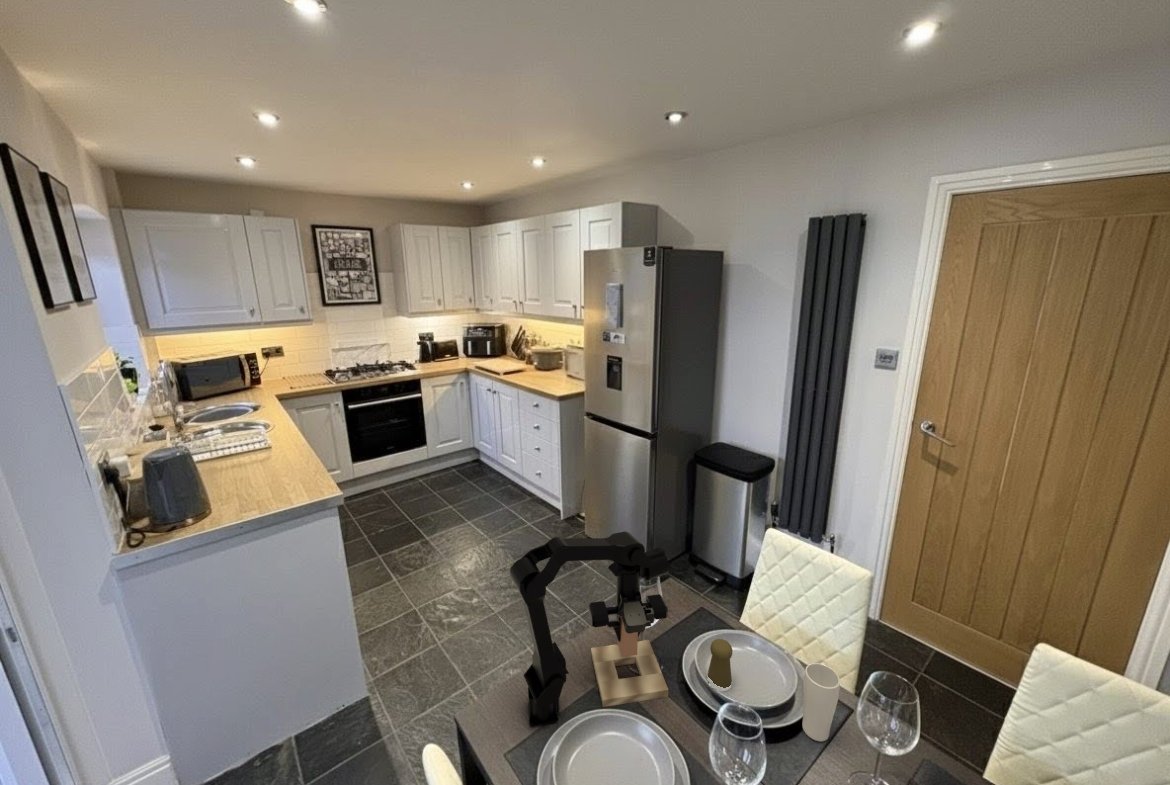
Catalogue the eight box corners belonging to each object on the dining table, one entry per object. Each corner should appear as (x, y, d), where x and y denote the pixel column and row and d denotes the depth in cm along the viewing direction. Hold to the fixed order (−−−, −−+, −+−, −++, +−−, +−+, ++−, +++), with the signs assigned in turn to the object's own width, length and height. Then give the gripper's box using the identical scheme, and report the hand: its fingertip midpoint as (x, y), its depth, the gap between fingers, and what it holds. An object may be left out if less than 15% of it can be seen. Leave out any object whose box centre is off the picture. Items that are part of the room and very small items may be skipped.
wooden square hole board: (602, 707, 108) (602, 700, 108) (590, 654, 123) (590, 648, 123) (668, 696, 111) (668, 689, 110) (648, 646, 126) (648, 639, 125)
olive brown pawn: (733, 693, 111) (736, 655, 109) (707, 689, 112) (709, 651, 110) (730, 673, 117) (733, 636, 114) (706, 669, 118) (708, 633, 116)
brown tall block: (621, 656, 113) (621, 622, 111) (617, 644, 117) (618, 610, 114) (637, 654, 114) (638, 620, 111) (633, 642, 117) (633, 608, 115)
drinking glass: (831, 752, 97) (839, 694, 94) (796, 736, 101) (802, 679, 97) (833, 726, 103) (841, 670, 99) (800, 712, 106) (807, 657, 103)
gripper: (596, 612, 102) (596, 670, 105) (677, 602, 105) (674, 659, 108) (587, 580, 112) (588, 635, 116) (661, 572, 115) (659, 625, 119)
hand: (627, 639), depth 114 cm, fingers closed on brown tall block, 4 cm apart
